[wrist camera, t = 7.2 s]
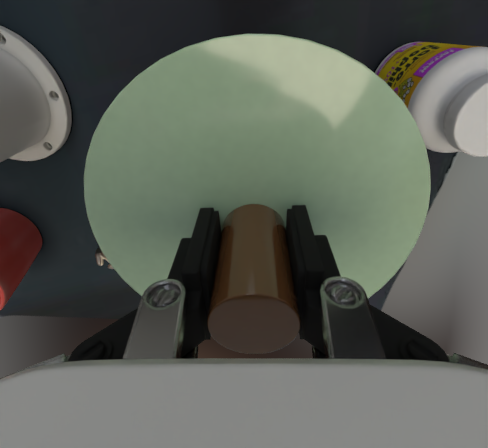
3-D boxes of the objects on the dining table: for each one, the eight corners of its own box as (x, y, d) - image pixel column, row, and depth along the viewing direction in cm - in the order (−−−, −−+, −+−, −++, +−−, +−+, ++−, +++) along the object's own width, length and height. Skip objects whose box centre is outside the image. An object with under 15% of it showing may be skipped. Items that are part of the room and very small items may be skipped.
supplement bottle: (408, 23, 25) (527, 18, 14) (458, 71, 26) (595, 98, 16) (352, 94, 28) (412, 134, 17) (399, 132, 30) (481, 190, 19)
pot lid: (72, 262, 16) (-17, 375, 11) (151, -72, 8) (-9, -233, 3) (298, 343, 19) (314, 457, 14) (495, 154, 12) (682, 250, 7)
